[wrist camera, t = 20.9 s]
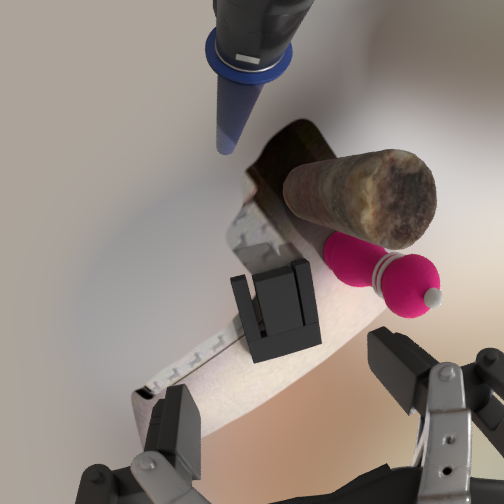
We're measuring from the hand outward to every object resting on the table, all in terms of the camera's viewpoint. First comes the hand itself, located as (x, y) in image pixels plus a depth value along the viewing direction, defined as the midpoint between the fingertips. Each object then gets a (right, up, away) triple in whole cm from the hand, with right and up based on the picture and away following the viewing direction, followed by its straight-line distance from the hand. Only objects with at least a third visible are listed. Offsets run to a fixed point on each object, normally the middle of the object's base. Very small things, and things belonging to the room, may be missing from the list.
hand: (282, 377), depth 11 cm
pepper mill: (+12, +5, +27) cm, 30 cm away
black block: (+2, -1, +27) cm, 28 cm away
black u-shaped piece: (+2, -3, +28) cm, 28 cm away
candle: (+6, +13, +25) cm, 29 cm away
